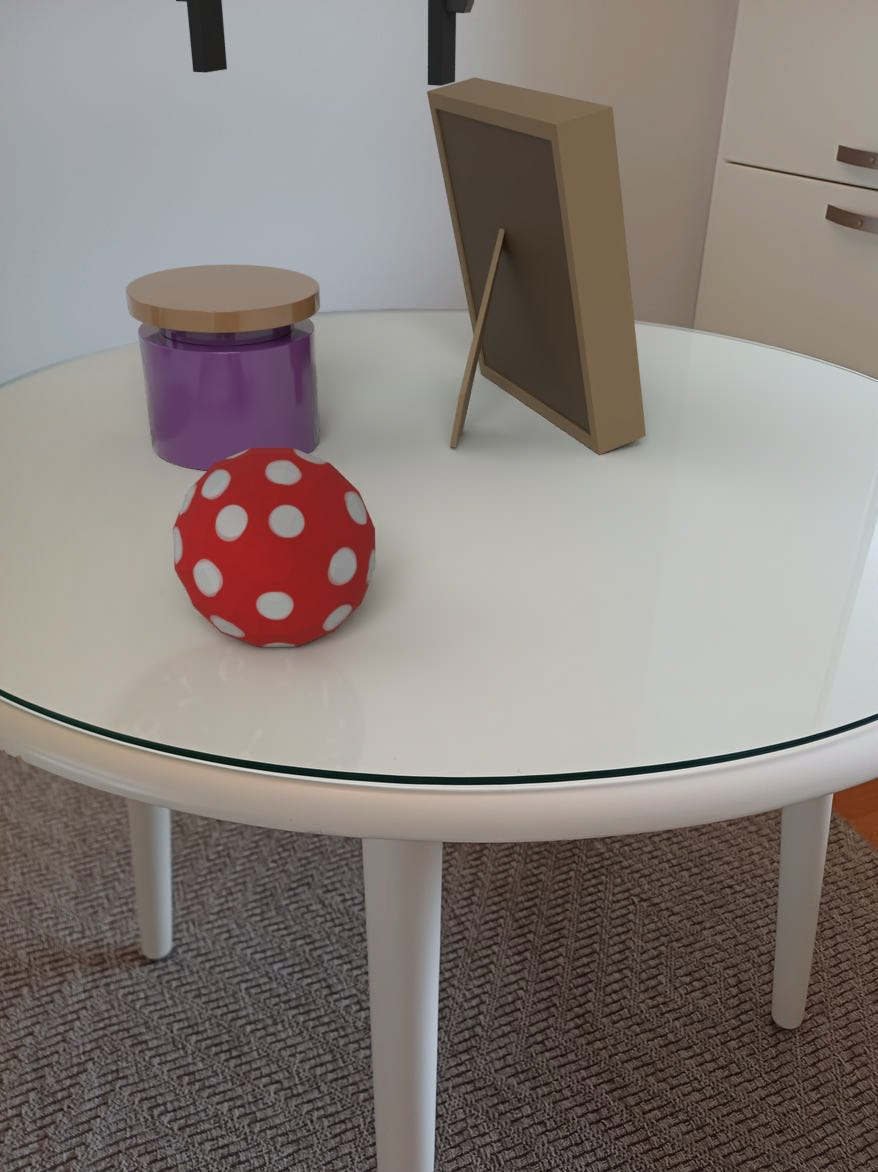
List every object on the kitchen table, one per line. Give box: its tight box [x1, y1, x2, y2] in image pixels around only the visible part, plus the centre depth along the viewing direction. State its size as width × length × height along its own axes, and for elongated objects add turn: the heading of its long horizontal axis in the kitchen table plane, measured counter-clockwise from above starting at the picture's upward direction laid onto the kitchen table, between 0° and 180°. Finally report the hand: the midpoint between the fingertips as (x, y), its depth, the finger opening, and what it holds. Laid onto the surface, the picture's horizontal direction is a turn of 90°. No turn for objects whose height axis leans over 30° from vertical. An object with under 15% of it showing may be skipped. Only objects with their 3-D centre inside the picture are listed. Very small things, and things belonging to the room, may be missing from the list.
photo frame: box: [426, 77, 647, 456], centre depth 89 cm, size 15×22×25 cm
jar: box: [125, 264, 321, 472], centre depth 86 cm, size 14×14×12 cm
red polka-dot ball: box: [172, 448, 377, 648], centre depth 65 cm, size 11×11×15 cm
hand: (323, 77), depth 62 cm, fingers open, 13 cm apart
